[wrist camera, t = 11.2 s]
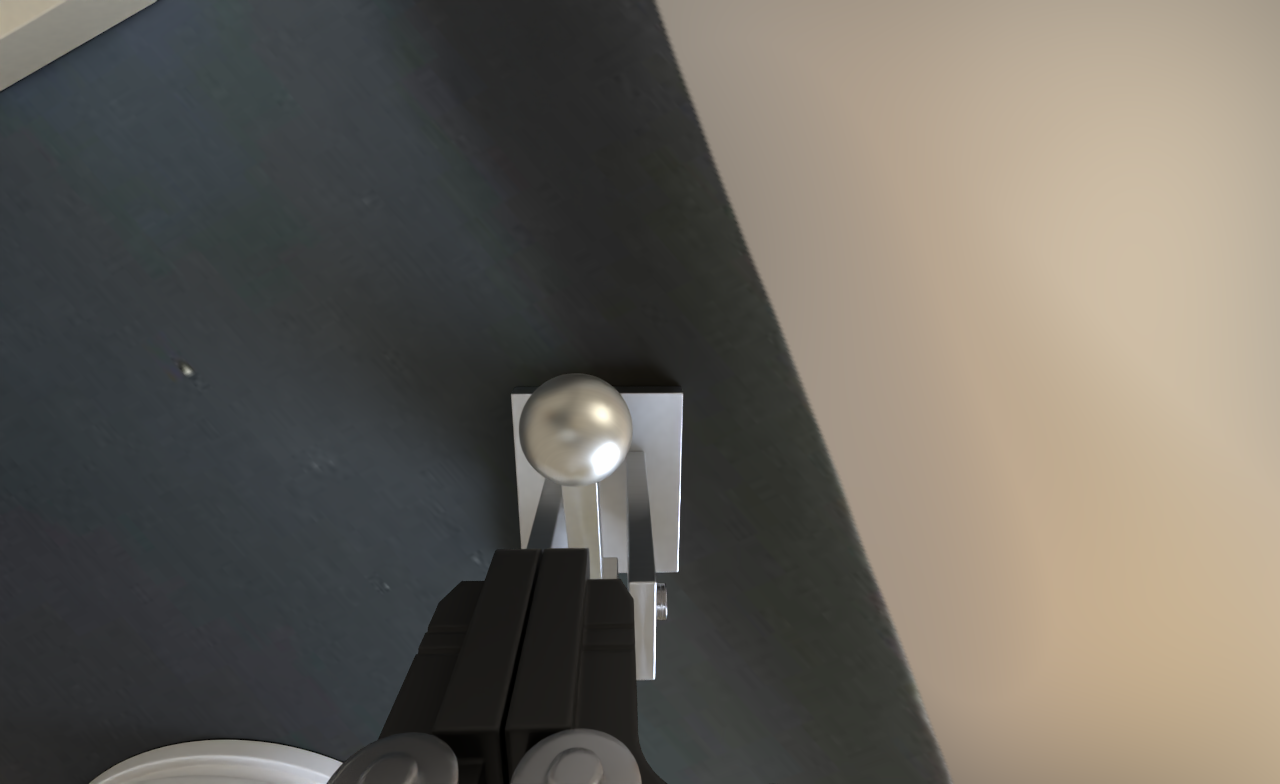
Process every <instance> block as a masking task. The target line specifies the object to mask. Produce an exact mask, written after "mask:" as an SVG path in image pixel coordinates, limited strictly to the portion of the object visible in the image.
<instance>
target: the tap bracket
mask: <svg viewBox="0 0 1280 784" xmlns="http://www.w3.org/2000/svg"><path fill="white" fill-rule="evenodd" d="M537 388H538V387H515V388H514V390H513V391H512V393H511V403H512V418H513V434H514V449H515V464H516V479H517V494H518V509H519V524H520V539H521V549H542V551H544V549H545V548H568V542H567V533H566V525H565V516H564V508H563V499H562V491H561V485H559V484H556V483H554V482H551V481H549V480H547V479H546V478H544V477H543V476H541V475H540V474H539V473H538V472H537V471H535V469H534V468H533V467H532V466H531V465H530V463H529V462H528V461H527V459H526V457H525V455H524V453H523V451H522V447H521V444H520V439H519V421H520V417H521V413H522V410H523V408H524V406H525V404H526V402H527V400H528V399H529V397H530V396H531V395H532V393H533V392H534V391H535V390H536V389H537ZM614 388H615V389H616V390H617V391H618V392H619V393H620V395H621V396H622V397H623V399H624V400H625V402H626V404H627V406H628V408H629V411H630V414H631V418H632V425H633V434H632V441H631V445H630V449H629V451H628V453H627V455H626V457H625V459H624V461H623V462H622V464H621V465H620V466H619V467H618V468H617V469H616V470H615V471H614V472H613V473H612V474H611V475H610V476H608V477H607V478H605V479H603V480H602V481H600V482H599V486H600V507H601V528H602V548H603V558H608V557H616V558H618V573H627V582H628V591H629V593H630V594H631V596H632V597H633V599H634V621H635V653H636V680H654V679H655V657H656V621H663V620H666V619H667V589H666V584H665V583H657V582H656V572H678V565H679V529H680V493H681V457H682V420H683V391H682V388H681V386H629V387H614Z"/></svg>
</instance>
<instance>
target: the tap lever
mask: <svg viewBox="0 0 1280 784" xmlns="http://www.w3.org/2000/svg"><path fill="white" fill-rule="evenodd" d="M632 434H633V425H632V418H631V414H630V411H629V408H628V406H627V404H626V402H625V400H624V399H623V397H622V396H621V395H620V393H619V392H618V391H617V390H616V389H615V388H614V387H613V386H611V385H610V384H609V383H607V382H606V381H604V380H602V379H600V378H598V377H595V376H592V375H588V374H582V373H571V374H564V375H560V376H557V377H554V378H552V379H550V380H548V381H546V382H545V383H543V384H542V385H541V386H539V387H538V388H537V389H536V390H535V391H534V392H533V393H532V395H531V396H530V397H529V399H528V400H527V402H526V404H525V406H524V408H523V410H522V413H521V417H520V421H519V439H520V444H521V447H522V451H523V453H524V455H525V457H526V459H527V461H528V462H529V463H530V465H531V466H532V467H533V468H534V469H535V471H537V472H538V473H539V474H540V475H541V476H543V477H544V478H546V479H547V480H549V481H551V482H554V483H556V484H559V485H561V491H562V499H563V508H564V516H565V525H566V533H567V542H568V548H589V556H590V579H618V558H616V557H608V558H603V548H602V528H601V507H600V486H599V482H600V481H602V480H603V479H605V478H607V477H608V476H610V475H611V474H612V473H613V472H614V471H615V470H616V469H617V468H618V467H619V466H620V465H621V464H622V462H623V461H624V459H625V457H626V455H627V453H628V451H629V449H630V445H631V441H632Z"/></svg>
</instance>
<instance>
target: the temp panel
mask: <svg viewBox="0 0 1280 784" xmlns="http://www.w3.org/2000/svg"><path fill="white" fill-rule="evenodd" d="M156 1H158V0H0V91H2V90H4V89H5V88H7V87H9V86H11V85H12V84H14V83H16V82H18V81H19V80H21V79H23V78H25V77H26V76H28V75H30V74H31V73H33V72H35V71H37V70H38V69H40V68H42V67H44V66H45V65H47V64H49V63H51V62H52V61H54V60H56V59H57V58H59V57H61V56H63V55H64V54H66V53H68V52H70V51H71V50H73V49H75V48H77V47H78V46H80V45H82V44H83V43H85V42H87V41H89V40H90V39H92V38H94V37H96V36H97V35H99V34H101V33H103V32H104V31H106V30H108V29H109V28H111V27H113V26H115V25H116V24H118V23H120V22H122V21H123V20H125V19H127V18H129V17H130V16H132V15H134V14H135V13H137V12H139V11H141V10H142V9H144V8H146V7H148V6H149V5H151V4H153V3H155V2H156Z"/></svg>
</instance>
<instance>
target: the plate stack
mask: <svg viewBox="0 0 1280 784" xmlns="http://www.w3.org/2000/svg"><path fill="white" fill-rule="evenodd" d="M342 764H343V763H342V762H340V761H337V760H334V759H332V758H329V757H326V756H323V755H320V754H317V753H314V752H310V751H307V750H303V749H299V748H295V747H291V746H285V745H280V744H274V743H268V742H260V741H249V740H204V741H194V742H186V743H180V744H175V745H170V746H165V747H161V748H158V749H154V750H151V751H148V752H145V753H142V754H139V755H136V756H134V757H132V758H129V759H127V760H125V761H123V762H121V763H119V764H117V765H115V766H113V767H111V768H110V769H108V770H107V771H105V772H103V773H102V774H101V775H99V776H98V777H96V778H95V779H94V780H93V781H91V782H90V783H89V784H327V782H328V781H329V779H330V778H331V776H332V775H333V774H334V772H335V771H336V770H337V769H338V768H339V767H340V766H341V765H342Z"/></svg>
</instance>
